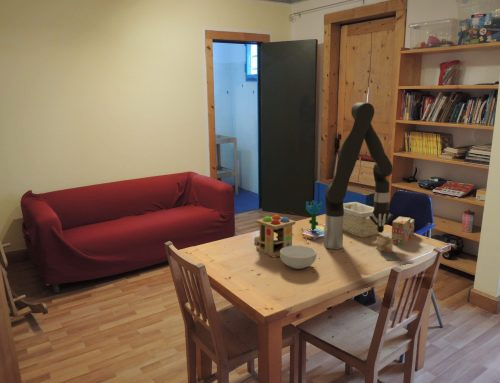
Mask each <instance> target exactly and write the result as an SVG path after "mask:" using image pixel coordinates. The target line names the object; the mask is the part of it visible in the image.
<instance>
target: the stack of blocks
mask: <svg viewBox="0 0 500 383" xmlns="http://www.w3.org/2000/svg"><path fill="white" fill-rule="evenodd" d="M391 227H392V228H391V237H390V238H391V239H392V240H393V245H398V244H399V245H398V246H403V244H404V245H405V244H406V243H407V242H408V241H409V239H410V238H411V237H413V235H414V232H415V231H414V230H415V219H413V218H411V217H405V216H398V217H396V219H394V220H393V221H392V224H391Z"/></svg>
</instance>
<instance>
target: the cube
mask: <svg viewBox="0 0 500 383" xmlns="http://www.w3.org/2000/svg"><path fill="white" fill-rule="evenodd" d="M391 238H392V237H390V236H386V235H385V236H377V237H376V248H377V249H378V250H379V251H380V252H392V251H393V246H394V244H393V240H392V239H391ZM376 248H375V249H376ZM377 249H376V250H377ZM378 250H377V251H378ZM379 251H378V252H379Z"/></svg>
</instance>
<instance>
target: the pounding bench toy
mask: <svg viewBox="0 0 500 383" xmlns="http://www.w3.org/2000/svg"><path fill="white" fill-rule="evenodd" d="M256 223H257V224H258V225H259V236H255V237H254V239H253V242H254V243H255V245H258V246H256V248H255V250H256V251H258V252H261V253H264V254H265V255H269V257H272V258H277V257H280V250H281V249H282V248H284V247H288V246H293V236H294V233H293V226H294V225H296V220H293V219H289V218H288V217H287V216H283V217H282V216H280V215H279V214H277V213H275V214H274V215H273V216H268V215H267V216H264V217H263V218H259V219H256ZM275 234H276V237H275ZM274 238H276V239H274Z"/></svg>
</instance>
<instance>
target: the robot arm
mask: <svg viewBox="0 0 500 383" xmlns="http://www.w3.org/2000/svg"><path fill="white" fill-rule="evenodd" d="M350 112H351V116H352V118H353V120H354V121H353V125H352V127H351V130H350V132H349V134H348V135H347V136H346V138H345V140H343V143H342V145H341V148H340V150H339V154H338V156H337V162H336V170H335V174H334V177H333V181H332V182H331V183H330V184H329V185H327V187H325V188H326V189H325V197H324V201H325V204H324V205H325V206H324V208H325V221H324V222H325V224H324V227H323V245H324V248H325V249H331V250H340V249H342V248H343V246H344V245H343V240H344V230H343V222H344V208H343V203H344V200H345V198H346V195H347V190H348V186H349V184H350V183H349V182H350V178H351V176H352V173H354V172H353V171H354V170H355V166H356V163H357V161H358V159H359V156H360V152H361V150H362V146H363V144H364V142H365V144H366V147H367V150H368V153H369V156H370V157H371V160H373V161H374V162H375V163H374V165H373V168H372V170H373V171H372V173H373V179H374V183H375V184H374V186H375V187H374V195H373V207H374V211H373V214H371V215H369V217H370V219H371V220H372V221H373V222H374V224H375V225H378V227H377V230H378V232H379V233H378V234H383V232H384V231H385V230H384V229H385V226H387V225H388V224H389V223H390V222H391V221H392V220H393V219H394V217H395V216H394V214H391V213H390V181H388V179H387V177H390V176H391V175H392V173H393V169H394V167H393V164H392V161H391V160H390V158H389V157H388V156H387V154H386V152H385V148H384V147H383V143H382V141H381V138H380V137H379V135H378V134H377V133H376V131H375V129H374V127H373V125H372V122H373V119H374V116H375V108H374V106H373V105H372V104H371V103H369V102H364V101H359V102H355V103H354V104H353V105H352V107H351V111H350ZM374 216H375V217H376V218H377V222H376V221H375V220H374Z"/></svg>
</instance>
